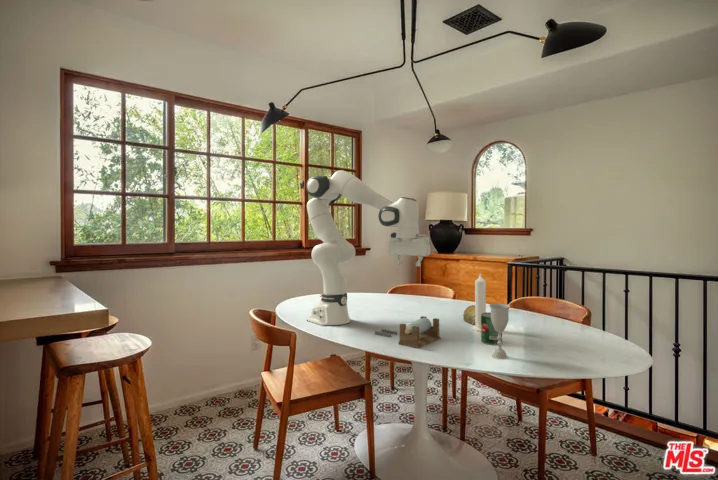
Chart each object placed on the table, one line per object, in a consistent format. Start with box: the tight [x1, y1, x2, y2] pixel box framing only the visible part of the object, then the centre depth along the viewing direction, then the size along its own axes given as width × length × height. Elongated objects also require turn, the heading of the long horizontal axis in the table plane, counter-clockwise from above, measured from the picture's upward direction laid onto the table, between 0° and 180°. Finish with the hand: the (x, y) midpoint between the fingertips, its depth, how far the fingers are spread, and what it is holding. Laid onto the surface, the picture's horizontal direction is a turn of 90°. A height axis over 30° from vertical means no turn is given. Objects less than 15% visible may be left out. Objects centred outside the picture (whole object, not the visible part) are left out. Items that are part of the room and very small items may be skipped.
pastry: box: [462, 304, 488, 326], centre depth 189 cm, size 14×12×8 cm
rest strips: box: [374, 328, 398, 338], centre depth 170 cm, size 8×5×1 cm, turn 49°
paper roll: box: [404, 317, 432, 334], centre depth 160 cm, size 16×6×6 cm
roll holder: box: [398, 315, 441, 349], centre depth 159 cm, size 17×9×8 cm, turn 139°
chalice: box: [488, 303, 511, 360], centre depth 139 cm, size 7×7×18 cm
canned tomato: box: [480, 311, 503, 346], centre depth 156 cm, size 8×8×11 cm
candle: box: [472, 273, 487, 333], centre depth 174 cm, size 7×7×25 cm
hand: (409, 265), depth 174 cm, fingers open, 8 cm apart
